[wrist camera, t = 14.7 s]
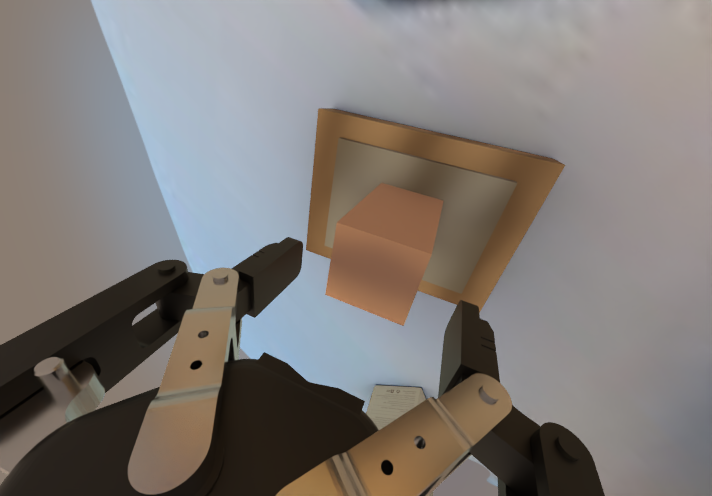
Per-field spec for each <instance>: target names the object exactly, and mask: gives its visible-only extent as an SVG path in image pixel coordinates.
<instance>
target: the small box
mask: <svg viewBox="0 0 712 496" xmlns="http://www.w3.org/2000/svg"><path fill="white" fill-rule="evenodd" d="M425 400H426V398H425V396H424V393H423V391H422V389H421V388H416V387H400V386H380V385H376V386H375V387H374V390H373V393H372V396H371V399H370V403H369V406H368V409H367V412H366V414H367V415H368V416H369V417H370V419H371V420H372V421H373V422H374V424H375V425H376V426H377V428H378V430H380V429H382V428H383V427H385V426H386V425H388V424H390V423H391V422H393V421H394V420H396V419H397V418H399V417H400V416H402V415H403V414H405V413H406V412H408V411H409V410H411V409H412V408H414V407H416V406H417V405H419V404H420V403H422V402H423V401H425ZM429 496H433V492H432V493H431V494H430V495H429Z"/></svg>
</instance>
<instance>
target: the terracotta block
mask: <svg viewBox="0 0 712 496" xmlns="http://www.w3.org/2000/svg"><path fill="white" fill-rule="evenodd" d="M442 206H443V200H440V199H436V198H433V197H429V196H426V195H422V194H419V193H415V192H412V191H408V190H405V189H401V188H398V187H394V186H391V185H388V184H384V183H381V184H380V185H378V186H377V187H376V188H375V189H374V190H373V191H372V192H371V193H369V194H368V195H367V196H366V197H365V198H364V199H363V200H362V201H360V202H359V203H358V204H357V205H356V206H355V207H354V208H353V209H351V210H350V211H349V212H348V213H347V214H346V215H345V216H343V217H342V218H341V219H340V220H339V221H338V222H337V224H336V231H335V237H334V243H333V250H332V256H331V262H330V269H329V275H328V281H327V288H326V294H325V295H328V296H330V297H333V298H335V299H338V300H340V301H343V302H345V303H348V304H350V305H353V306H355V307H358V308H360V309H363V310H365V311H368V312H370V313H373V314H375V315H378V316H380V317H383V318H385V319H388V320H390V321H392V322H395V323H397V324H400V325H402V326H404V323H405V320H406V318H407V315H408V313H409V310H410V308H411V305H412V303H413V300H414V298H415V295H416V293H417V290H418V288H419V285H420V283H421V280H422V278H423V275H424V273H425V270H426V268H427V265H428V263H429V260H430V258H431V255H432V251H433V247H434V242H435V237H436V233H437V228H438V224H439V219H440V215H441V210H442Z"/></svg>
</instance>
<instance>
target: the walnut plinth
mask: <svg viewBox="0 0 712 496" xmlns="http://www.w3.org/2000/svg"><path fill="white" fill-rule="evenodd" d="M564 166H565V165H564V164H562V163H560V162H558V161H556V160H555V159H552V158H548V157H544V156H539V155H535V154H530V153H526V152H522V151H517V150H513V149H508V148H504V147H500V146H495V145H491V144H486V143H482V142H478V141H473V140H469V139H464V138H460V137H456V136H451V135H447V134H442V133H438V132H434V131H429V130H425V129H420V128H416V127H412V126H407V125H403V124H398V123H394V122H390V121H385V120H381V119H376V118H372V117H367V116H363V115H359V114H354V113H350V112H345V111H341V110H337V109H318V120H317V132H316V143H315V154H314V166H313V177H312V188H311V200H310V211H309V223H308V234H307V245H306V250H308V251H310V252H313V253H316V254H319V255H321V256H324V257H327V258H330V259H331V256H332V250H333V243H334V237H335V231H336V224H337V222H338V221H339V220H340V219H341V218H342V217H343V216H345V215H346V214H347V213H348V212H349V211H350V210H351V209H353V208H354V207H355V206H356V205H357V204H358V203H359V202H360V201H362V200H363V199H364V198H365V197H366V196H367V195H368V194H369V193H371V192H372V191H373V190H374V189H375V188H376V187H377V186H378V185H380V184H381V183H384V184H388V185H391V186H394V187H398V188H401V189H405V190H408V191H412V192H415V193H419V194H422V195H426V196H429V197H433V198H436V199H440V200H443V206H442V210H441V215H440V219H439V224H438V228H437V233H436V237H435V242H434V247H433V251H432V255H431V258H430V260H429V263H428V265H427V268H426V270H425V273H424V275H423V278H422V280H421V283H420V285H419V288H418V291H421V292H423V293H426V294H429V295H432V296H434V297H437V298H440V299H443V300H445V301H448V302H451V303H454V304H456V305H458V303H459V301H460V300H463V301H466V302H468V303H471V304H474V305H477V306H478V307H479V312H480V311H481V309H482V307H483V306H484V304H485V302H486V300H487V299H488V297H489V295H490V294H491V292H492V290H493V288H494V287H495V285H496V283H497V282H498V280H499V278H500V276H501V275H502V273H503V271H504V269H505V268H506V266H507V264H508V263H509V261H510V259H511V257H512V256H513V254H514V252H515V251H516V249H517V247H518V245H519V244H520V242H521V240H522V239H523V237H524V235H525V233H526V232H527V230H528V228H529V227H530V225H531V223H532V221H533V220H534V218H535V216H536V215H537V213H538V211H539V209H540V208H541V206H542V204H543V203H544V201H545V199H546V197H547V196H548V194H549V192H550V190H551V189H552V187H553V185H554V184H555V182H556V180H557V178H558V177H559V175H560V173H561V172H562V170H563V168H564Z"/></svg>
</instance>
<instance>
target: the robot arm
mask: <svg viewBox="0 0 712 496" xmlns="http://www.w3.org/2000/svg"><path fill="white" fill-rule="evenodd" d="M302 252H303V243H302V242H301V241H298V240H295V239H293V238H290V237H287V238H286V239H284V240H283V241H281V242H280V243H273V244H270V245H267V246H265V247H263V248H262V249H260V250H259V252H258V251H257V252H256V253H254V254H253V256H252V255H251V256H250V257H248V258H247V259H245V260H244V261H242V262H241V263H239V264H238V265H236V266H235V267H233V268H232V269H230V268H216V269H213V270H210V271H208V272H207V273H205V274H198V273H191V272H188V270H187V266H186V264H185V263H184V262H182V261H179V260H165V261H161V262H158V263H155V264H153V265H151V266H149V267H148V268H146V269H144V270H142V271H140V272H138V273H136V274H134V275H132V276H130V277H129V278H127V279H125V280H123V281H121V282H119V283H117V284H116V285H113V286H112V287H110V288H108V289H106V290H104V291H102V292H100V293H98V294H97V295H94V296H93V297H91V298H89V299H87V300H85V301H83V302H81V303H80V304H78V305H76V306H74V307H72V308H70V309H68V310H66V311H64V312H62V313H60V314H59V315H57V316H55V317H53V318H51V319H49V320H47V321H45V322H44V323H42V324H40V325H38V326H36V327H34V328H32V329H30V330H28V331H26V332H25V333H23V334H21V335H19V336H17V337H15V338H13V339H11V340H10V341H8V342H6V343H4V344H2V345H0V471H1V472H3V473H5V474H6V475H8V476H7V477H6V479H5V480H4V481H3V482H2V484H1V485H0V496H429V495H430V494H431V493H432V492H433V491H434V490H435V489H436V488H437V487H438V486H439V485H440V484H441V483H442V482H443V481H444V480H445V479H446V478H447V477H448V476H449V475H450V474H451V473H452V472H454V471H455V469H457V468H458V467H459V466H460V465H461V464H462V463H463V462H464V461H465V460H466V459H467V458H468V457H470V456H471V455H473V456H474V457H475V458H476V459H477V460H479V461H480V462H481V463H482V464H483V465H484V466H485V467H487V468H488V469H489V470H490V471H491V472H492V473H494V474H495V475H496V476H497V477H498V496H605V495H604V492H603V489H602V485H601V482H600V479H599V476H598V473H597V470H596V466H595V463H594V461H593V458H592V456H591V454H590V452H589V451H588V449H587V448H586V447H585V445H584V444H583V443H582V442H581V441H580V440H579V438H577V437H576V436H575V435H574V434H573V433H572V432H571V431H569V430H568V429H566V428H565V427H563V426H561V425H558V424H556V423H550V422H548V423H545V424H543V425H542V426H541V427H540V426H539V425H538V424H536V423H535V422H534V421H532V420H531V419H529V418H528V417H527V416H525V415H524V414H522V413H521V412H520V411H518V410H517V409H516V408H515V407H514V406H513V405H512V401H511V398H510V396H509V394H508V392H507V390H506V389H505V388H504V387H503V386H502V385H501V384H500V379H499V371H498V363H497V355H496V352H495V351H496V347H495V344H494V343H495V339H494V332H493V330H492V328H491V327H490V325H489V323H488V322H487V321H484V320H482V319H480V317H479V307H478V306H477V305H474V304H471V303H468V302H466V301H463V300H460V301H459V303H458V305H457V307H456V309H455V311H454V313H453V315H452V317H451V319H450V321H449V323H448V325H447V328H446V331H445V335H444V343H443V353H442V364H441V374H440V384H439V394H438V398H437V399H435V398H434V397H430V398H428V399H426V400H425V401H423V402H422V403H420V404H419V405H417V406H416V407H414V408H412V409H411V410H409V411H408V412H406V413H405V414H403V415H402V416H400V417H399V418H397V419H396V420H394V421H393V422H391V423H390V424H388V425H386V426H385V427H383V428H382V429H380V430H378V428H377V426H376V425H375V424H374V422H373V421H372V420H371V419H370V417H369V416H368V415H367V414H366V413H364V412H363V411H362V408H363V405H364V402H365V401H363V400H361V399H359V398H357V397H355V396H353V395H351V394H349V393H347V392H345V391H343V390H341V389H339V388H334V387H329V386H324V385H319V384H314V383H310V382H308V381H306V380H305V379H304V378H303V377H302V376H301V375H300V374H298V373H297V372H296V371H295V370H294V369H293V368H292V367H291V366H290V365H288V364H287V363H285V362H283V361H281V360H279V359H277V358H275V357H273V356H271V355H269V354H267V353H265V352H264V353H263V355H262V356H261V357H260V358H259V359H258V360H257V359H240V360H239V349H240V338H241V327H242V317H243V316H244V315H245V314H248V315H250V316H252V317H254V318H255V317H256V316H257V315H258V314H259V313H260V312H261V311H262V310H263V309H264V308H265V307H267V306H268V305H269V304H270V303H271V302H272V301H273V300H274V299H275V298H276V297H277V296H278V295H279V294H280V293H281V292H282V291H283V290H284V289H285V288H286V287H287V286H288V285H289V284H290V283H291V282H292V281H293V280H294V279H295V278H296V277H297V276H298V274H299V273H300V270H301V264H302ZM154 303H156V305H157V309H156V310H155V311H153V312H152V313H150V314H149V315H147V316H146V317H144V318H143V319H142V320H140V321H139V322H137V323H136V324H134V325H133V326H132V322H133V320H134V318H135V317H136V316H137V315H138V314H139V313H140V312H142V311H143V310H145V309H146V308H148V307H150V306H151V305H152V304H154ZM177 333H178V335H177V337H176V341H175V344H174V347H173V350H172V352H171V355H170V358H169V361H168V364H167V367H166V371H165V373H164V376H163V379H162V383H161V385H160V387H158V388H155V389H152V390H150V391H147V392H144V393H141V394H139V395H136V396H133V397H131V398H128V399H125V400H122V401H120V402H117V403H114V404H111V405H109V406H106V407H103V408H100V409H98V410H96V408H97V407H98V405H99V404H100V403H101V401H102V400H103V397H104V395H105V393H106V392H107V391H108V390H109V389H111V388H112V387H113V386H114V385H116V384H117V383H118V382H119V381H120V380H122V379H123V378H124V377H125V376H126V375H127V374H129V373H130V372H131V371H132V370H134V369H135V368H136V367H137V366H138V365H139V364H141V363H142V362H143V361H144V360H145V359H147V358H148V357H149V356H150V355H152V354H153V353H154V352H155V351H156V350H158V349H159V348H160V347H161V346H162V345H163V344H165V343H166V342H167V341H168V340H170V339H171V338H172V337H173V336H175V335H176V334H177Z"/></svg>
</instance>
